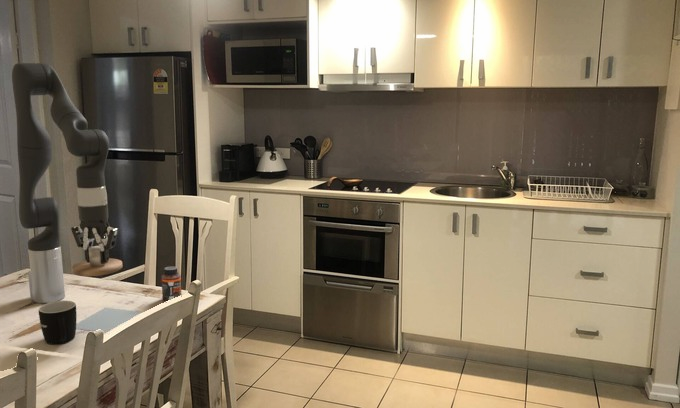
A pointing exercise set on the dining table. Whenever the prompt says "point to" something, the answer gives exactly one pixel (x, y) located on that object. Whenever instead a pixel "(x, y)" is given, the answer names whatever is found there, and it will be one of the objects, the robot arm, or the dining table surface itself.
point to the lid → (96, 265)
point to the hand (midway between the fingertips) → (97, 262)
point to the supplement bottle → (171, 283)
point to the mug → (58, 322)
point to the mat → (106, 319)
